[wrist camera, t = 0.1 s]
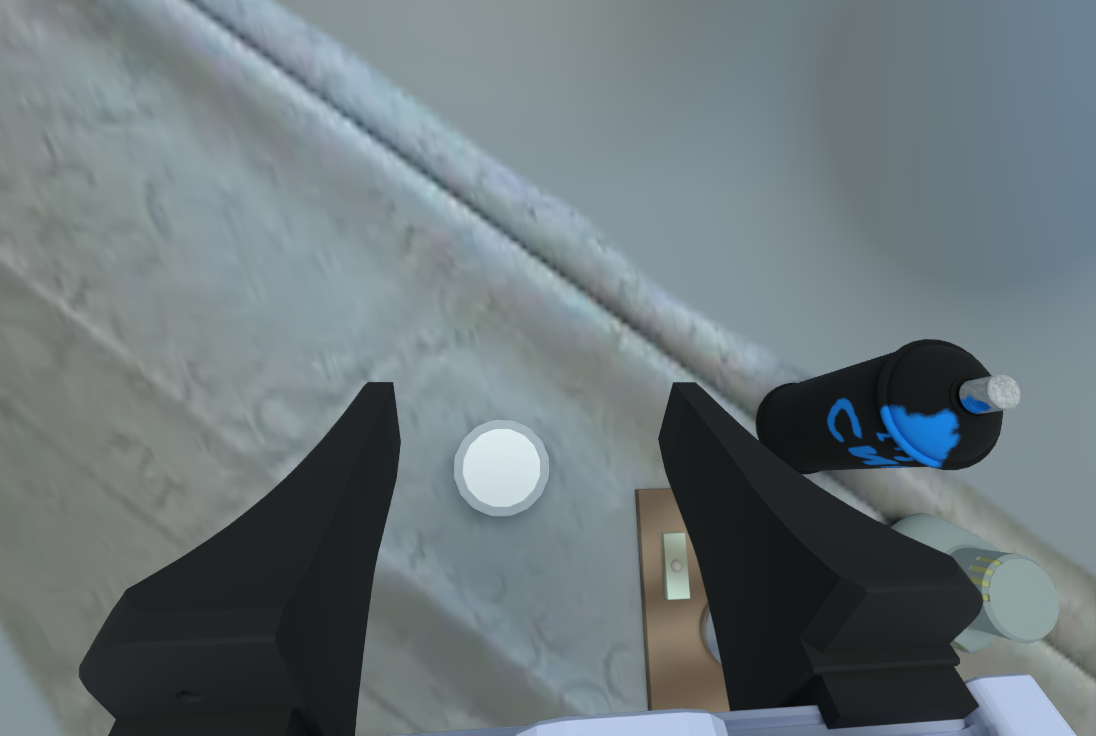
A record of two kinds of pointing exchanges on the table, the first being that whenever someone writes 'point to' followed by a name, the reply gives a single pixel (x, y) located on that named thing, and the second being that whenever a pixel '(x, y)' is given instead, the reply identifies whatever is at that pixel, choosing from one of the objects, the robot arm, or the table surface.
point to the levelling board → (674, 611)
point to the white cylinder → (501, 468)
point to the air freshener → (992, 584)
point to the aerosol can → (890, 412)
